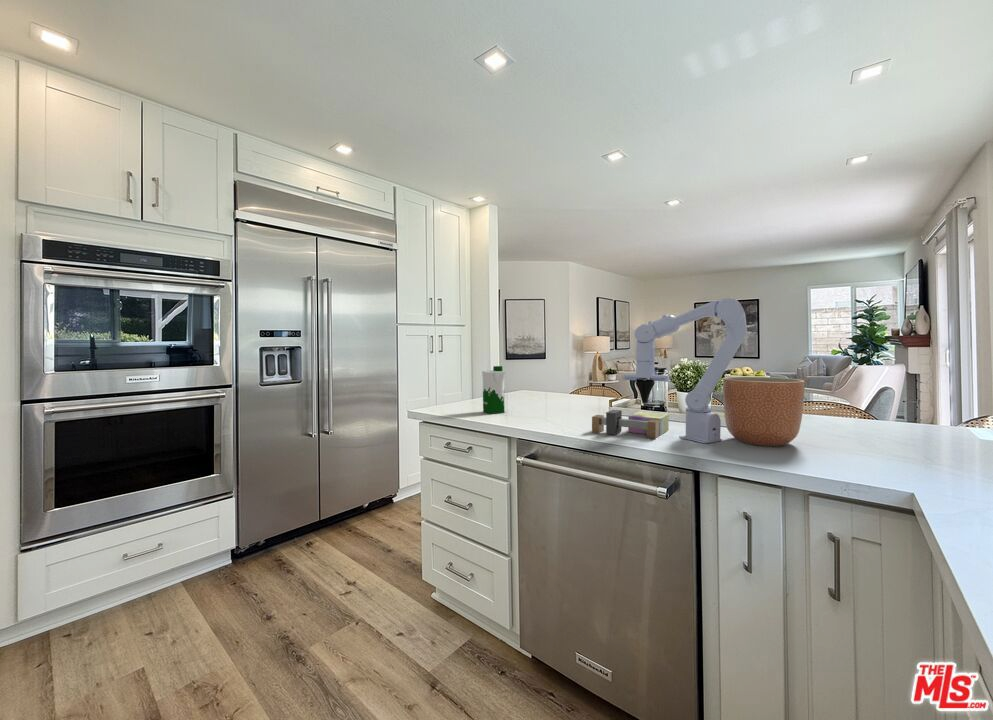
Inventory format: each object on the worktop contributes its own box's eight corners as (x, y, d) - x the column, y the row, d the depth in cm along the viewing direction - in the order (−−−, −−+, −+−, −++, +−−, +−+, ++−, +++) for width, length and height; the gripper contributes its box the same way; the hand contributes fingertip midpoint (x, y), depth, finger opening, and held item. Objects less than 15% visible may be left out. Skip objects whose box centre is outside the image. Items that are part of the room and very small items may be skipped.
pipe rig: (658, 436, 139) (658, 420, 139) (655, 439, 135) (655, 422, 135) (596, 430, 150) (597, 414, 150) (591, 432, 146) (592, 416, 145)
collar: (621, 431, 146) (621, 410, 146) (615, 434, 140) (615, 413, 140) (612, 430, 148) (612, 409, 148) (606, 433, 142) (606, 412, 142)
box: (638, 427, 155) (628, 432, 146) (638, 411, 155) (628, 415, 145) (668, 430, 149) (660, 436, 140) (669, 413, 149) (660, 418, 140)
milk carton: (507, 413, 187) (507, 366, 187) (488, 414, 184) (487, 367, 183) (498, 410, 195) (498, 365, 195) (480, 411, 192) (479, 366, 191)
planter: (706, 437, 137) (707, 377, 136) (754, 432, 144) (755, 375, 143) (768, 453, 117) (770, 383, 117) (820, 446, 125) (822, 380, 124)
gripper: (671, 361, 142) (670, 402, 143) (626, 360, 150) (626, 399, 151) (666, 362, 136) (666, 405, 137) (620, 361, 144) (620, 402, 145)
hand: (645, 402), depth 143 cm, fingers closed
